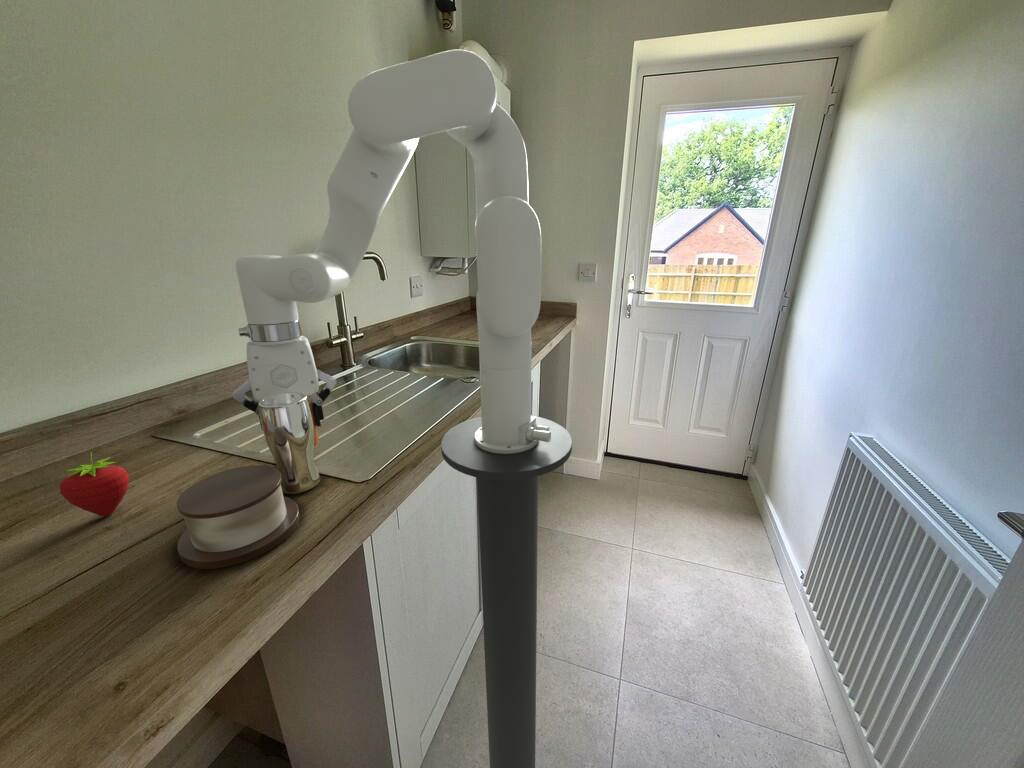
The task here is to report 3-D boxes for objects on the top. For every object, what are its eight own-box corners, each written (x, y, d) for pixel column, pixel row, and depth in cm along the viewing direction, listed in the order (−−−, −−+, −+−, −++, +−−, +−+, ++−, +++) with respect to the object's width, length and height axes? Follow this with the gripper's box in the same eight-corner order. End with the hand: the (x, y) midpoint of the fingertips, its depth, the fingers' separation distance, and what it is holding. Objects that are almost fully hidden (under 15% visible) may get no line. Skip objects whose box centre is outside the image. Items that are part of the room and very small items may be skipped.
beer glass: (295, 471, 71) (278, 390, 66) (331, 474, 70) (317, 392, 65) (266, 494, 65) (245, 406, 60) (305, 497, 64) (287, 408, 59)
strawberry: (92, 506, 62) (69, 447, 59) (149, 500, 64) (129, 442, 60) (60, 531, 57) (33, 468, 53) (124, 524, 58) (100, 461, 55)
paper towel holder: (321, 515, 59) (313, 473, 57) (222, 584, 47) (207, 534, 45) (258, 492, 65) (249, 453, 63) (156, 549, 53) (139, 503, 51)
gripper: (210, 342, 62) (236, 447, 67) (334, 330, 69) (348, 426, 75) (217, 333, 68) (240, 430, 74) (330, 323, 76) (343, 412, 81)
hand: (294, 427), depth 74 cm, fingers closed on terracotta cup, 7 cm apart
